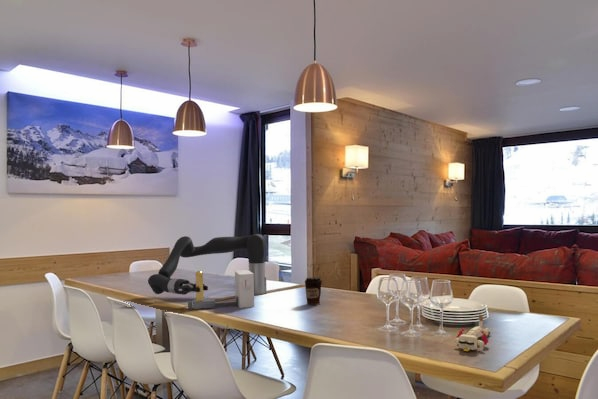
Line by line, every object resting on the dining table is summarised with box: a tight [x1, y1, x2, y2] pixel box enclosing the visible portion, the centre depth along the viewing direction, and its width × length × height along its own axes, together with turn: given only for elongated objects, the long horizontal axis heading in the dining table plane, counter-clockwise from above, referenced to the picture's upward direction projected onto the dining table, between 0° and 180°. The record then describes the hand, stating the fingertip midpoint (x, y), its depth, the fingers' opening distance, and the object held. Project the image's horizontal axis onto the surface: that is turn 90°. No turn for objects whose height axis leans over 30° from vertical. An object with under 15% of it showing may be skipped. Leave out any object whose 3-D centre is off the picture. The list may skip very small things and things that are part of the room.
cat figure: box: [453, 314, 491, 352], centre depth 159 cm, size 10×9×25 cm
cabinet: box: [234, 269, 255, 309], centre depth 231 cm, size 8×15×16 cm, turn 17°
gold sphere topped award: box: [192, 270, 216, 310], centre depth 226 cm, size 10×7×18 cm
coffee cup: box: [304, 276, 323, 306], centre depth 228 cm, size 9×8×13 cm
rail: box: [187, 300, 239, 311], centre depth 228 cm, size 26×4×4 cm, turn 107°
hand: (203, 289), depth 224 cm, fingers closed on gold sphere topped award, 4 cm apart
